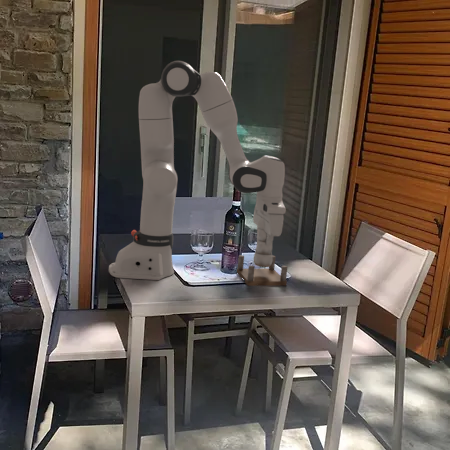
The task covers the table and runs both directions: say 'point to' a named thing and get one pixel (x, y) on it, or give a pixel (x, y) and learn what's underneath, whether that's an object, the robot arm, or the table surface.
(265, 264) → the plastic bottle
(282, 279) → the peg stand
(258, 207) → the robot arm
